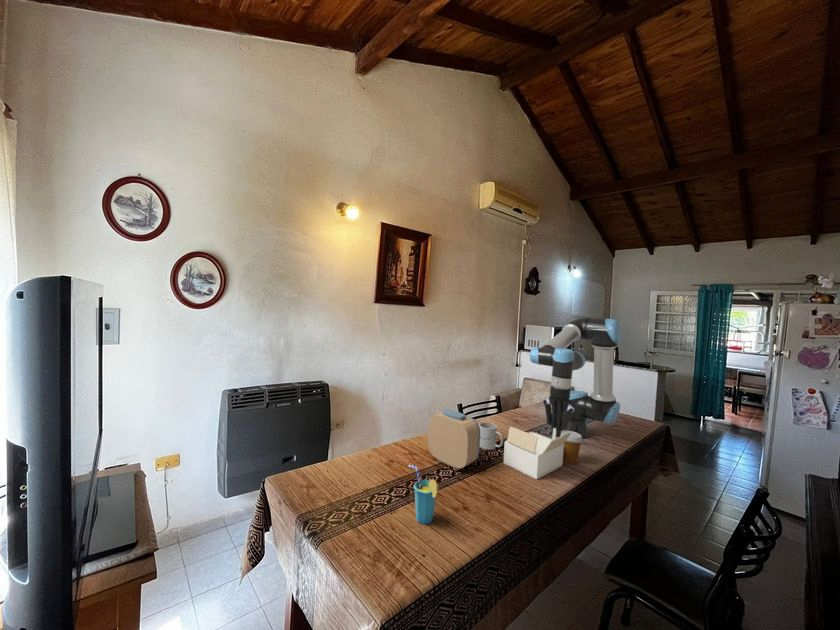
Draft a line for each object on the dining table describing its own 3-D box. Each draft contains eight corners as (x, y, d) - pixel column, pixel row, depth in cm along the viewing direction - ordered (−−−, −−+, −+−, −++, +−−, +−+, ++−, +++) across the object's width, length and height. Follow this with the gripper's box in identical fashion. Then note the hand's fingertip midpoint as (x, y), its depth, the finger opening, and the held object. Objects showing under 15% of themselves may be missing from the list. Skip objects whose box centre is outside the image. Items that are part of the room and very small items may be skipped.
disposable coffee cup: (583, 466, 144) (585, 439, 144) (560, 463, 146) (561, 436, 146) (577, 457, 154) (579, 431, 153) (555, 454, 155) (557, 429, 155)
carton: (529, 451, 157) (530, 430, 157) (563, 465, 144) (564, 443, 144) (502, 462, 144) (503, 440, 144) (536, 479, 132) (538, 455, 131)
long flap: (570, 432, 139) (571, 433, 139) (561, 444, 142) (562, 444, 142) (551, 440, 130) (551, 441, 129) (542, 452, 132) (543, 453, 132)
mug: (474, 444, 162) (475, 424, 162) (485, 440, 167) (486, 421, 167) (494, 454, 152) (495, 432, 152) (505, 449, 158) (507, 429, 157)
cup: (398, 512, 107) (400, 466, 107) (415, 502, 113) (417, 459, 112) (430, 534, 97) (432, 484, 97) (447, 523, 103) (449, 475, 102)
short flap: (510, 426, 143) (510, 426, 143) (537, 436, 133) (537, 436, 133) (507, 441, 142) (506, 441, 142) (534, 453, 132) (534, 453, 132)
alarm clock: (479, 467, 139) (481, 416, 138) (465, 475, 132) (468, 422, 131) (441, 450, 153) (443, 404, 152) (427, 457, 146) (429, 408, 145)
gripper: (541, 383, 137) (535, 439, 139) (571, 392, 127) (565, 452, 129) (551, 382, 142) (545, 435, 143) (580, 390, 132) (574, 447, 134)
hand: (554, 443), depth 136 cm, fingers closed
